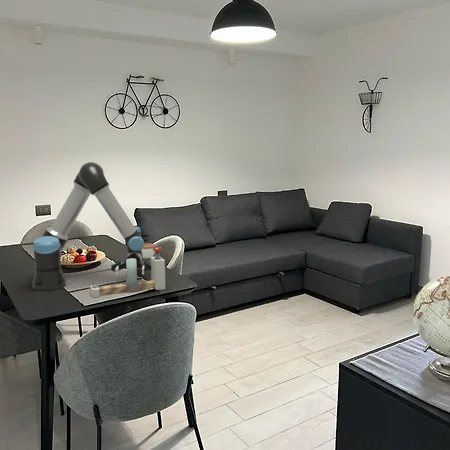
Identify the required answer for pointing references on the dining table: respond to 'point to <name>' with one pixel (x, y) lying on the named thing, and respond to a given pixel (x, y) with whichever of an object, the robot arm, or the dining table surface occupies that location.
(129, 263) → the carriage
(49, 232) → the robot arm
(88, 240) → the dining table surface
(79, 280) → the dining table surface
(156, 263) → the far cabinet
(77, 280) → the dining table surface
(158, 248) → the gauge plunger
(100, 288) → the rail
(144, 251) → the lidded jar
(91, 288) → the block
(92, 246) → the dining table surface
